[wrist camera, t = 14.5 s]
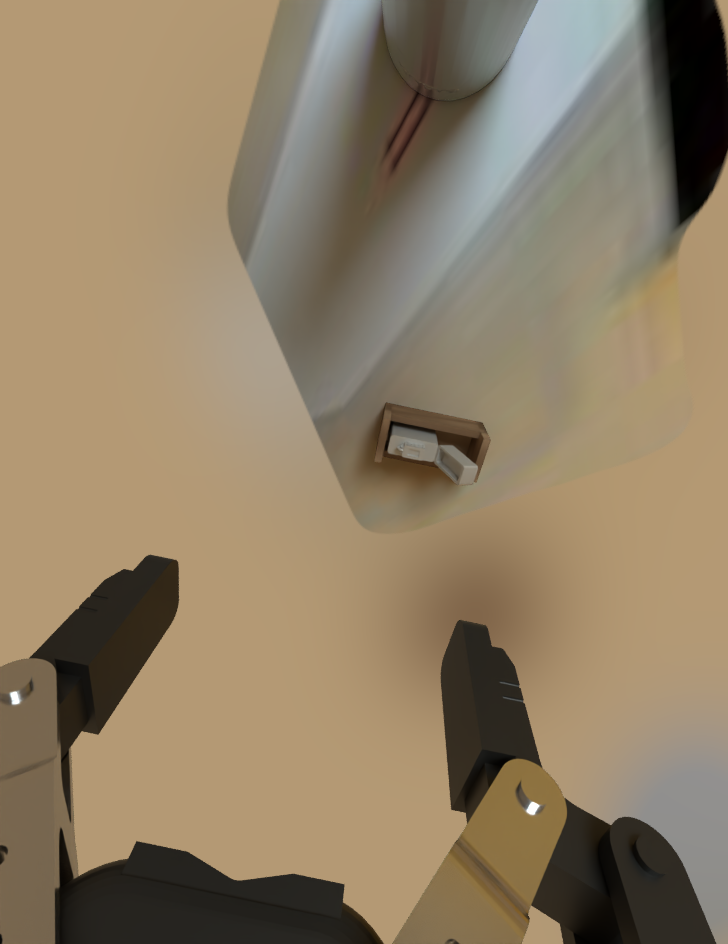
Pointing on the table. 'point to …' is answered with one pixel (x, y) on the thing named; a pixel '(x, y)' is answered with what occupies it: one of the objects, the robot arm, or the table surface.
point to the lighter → (430, 451)
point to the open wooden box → (448, 431)
